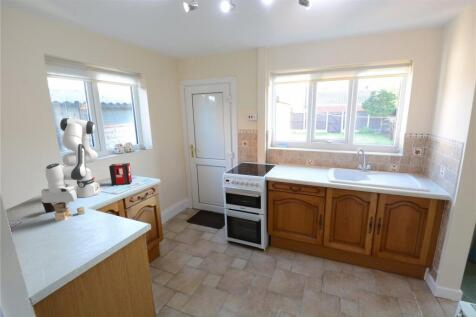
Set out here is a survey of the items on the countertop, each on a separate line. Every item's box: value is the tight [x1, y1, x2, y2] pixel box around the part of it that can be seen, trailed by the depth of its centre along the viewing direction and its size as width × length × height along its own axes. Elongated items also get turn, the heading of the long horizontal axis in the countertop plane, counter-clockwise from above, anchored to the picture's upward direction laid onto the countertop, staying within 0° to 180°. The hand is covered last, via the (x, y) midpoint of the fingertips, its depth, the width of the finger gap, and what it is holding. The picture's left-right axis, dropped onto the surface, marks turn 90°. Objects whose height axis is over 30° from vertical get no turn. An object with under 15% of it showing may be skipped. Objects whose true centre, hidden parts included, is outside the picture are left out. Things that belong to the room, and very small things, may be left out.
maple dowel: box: [76, 206, 86, 216], centre depth 156 cm, size 4×4×4 cm
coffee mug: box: [41, 201, 58, 214], centre depth 163 cm, size 12×9×10 cm
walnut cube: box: [54, 202, 69, 213], centre depth 148 cm, size 5×5×5 cm
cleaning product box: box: [108, 162, 133, 187], centre depth 223 cm, size 16×9×20 cm, turn 102°
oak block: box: [53, 208, 72, 221], centre depth 149 cm, size 6×6×5 cm
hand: (61, 207), depth 148 cm, fingers closed on walnut cube, 5 cm apart
